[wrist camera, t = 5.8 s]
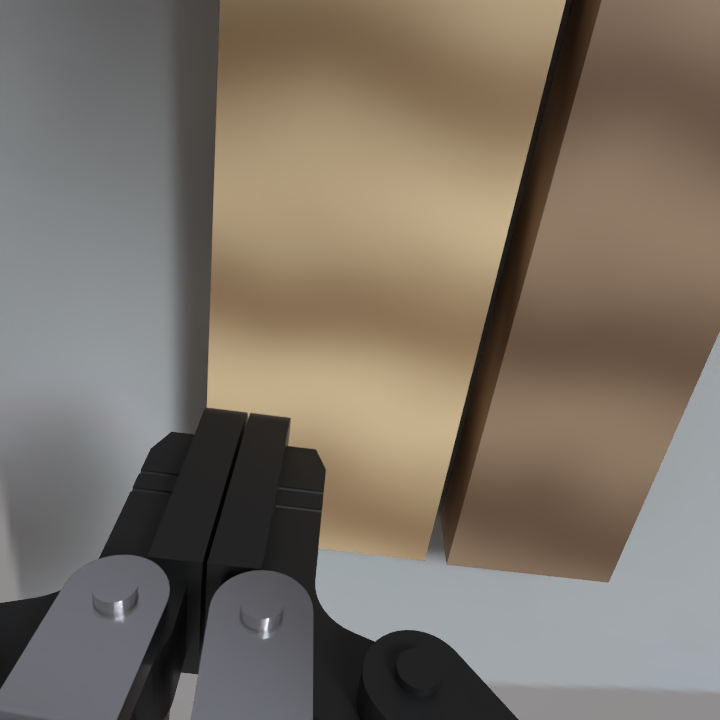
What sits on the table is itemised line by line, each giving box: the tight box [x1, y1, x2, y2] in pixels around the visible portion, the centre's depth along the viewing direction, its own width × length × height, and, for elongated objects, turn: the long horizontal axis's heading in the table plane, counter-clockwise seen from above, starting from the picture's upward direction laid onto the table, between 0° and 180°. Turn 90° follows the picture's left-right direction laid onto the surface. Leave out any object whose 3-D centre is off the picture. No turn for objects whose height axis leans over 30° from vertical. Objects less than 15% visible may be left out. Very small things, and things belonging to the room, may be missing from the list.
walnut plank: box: [441, 0, 720, 582], centre depth 21 cm, size 20×6×2 cm, turn 172°
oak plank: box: [207, 0, 566, 561], centre depth 21 cm, size 20×8×2 cm, turn 172°
